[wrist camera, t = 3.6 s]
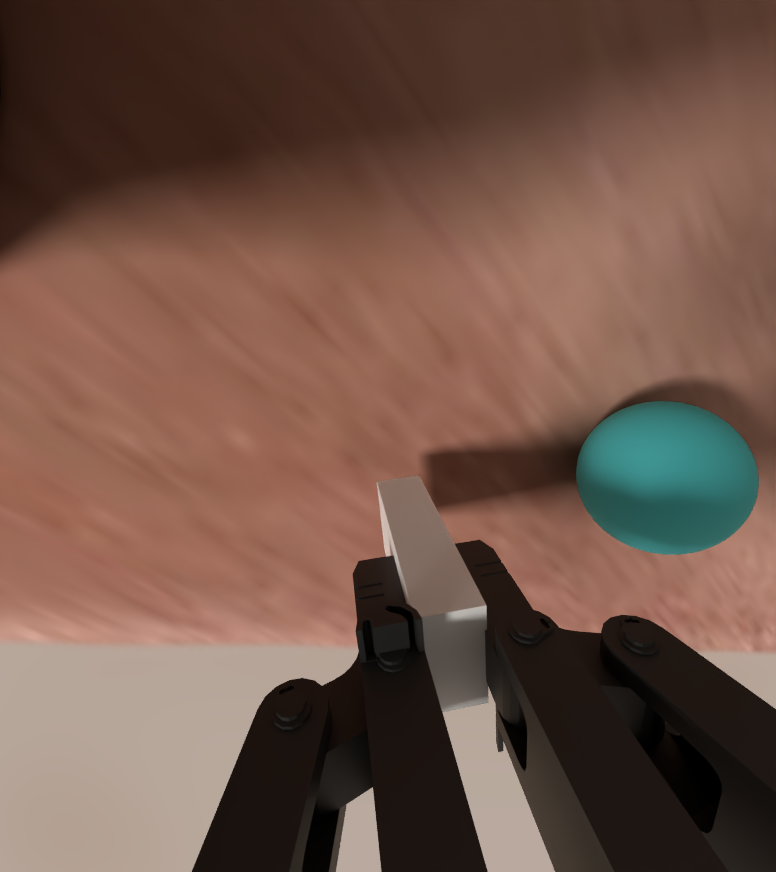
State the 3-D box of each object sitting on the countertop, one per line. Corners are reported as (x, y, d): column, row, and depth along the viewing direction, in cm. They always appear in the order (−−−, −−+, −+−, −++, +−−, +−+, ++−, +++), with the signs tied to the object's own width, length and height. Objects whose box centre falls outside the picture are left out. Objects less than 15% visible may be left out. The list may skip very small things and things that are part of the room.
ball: (552, 395, 17) (653, 441, 12) (678, 378, 17) (828, 415, 12) (547, 516, 19) (632, 602, 14) (661, 497, 19) (785, 573, 14)
